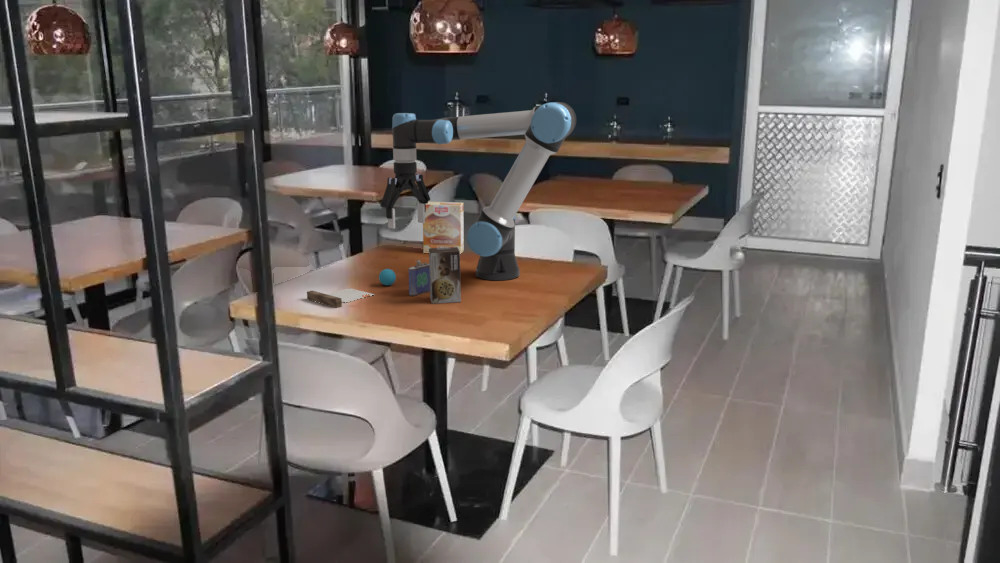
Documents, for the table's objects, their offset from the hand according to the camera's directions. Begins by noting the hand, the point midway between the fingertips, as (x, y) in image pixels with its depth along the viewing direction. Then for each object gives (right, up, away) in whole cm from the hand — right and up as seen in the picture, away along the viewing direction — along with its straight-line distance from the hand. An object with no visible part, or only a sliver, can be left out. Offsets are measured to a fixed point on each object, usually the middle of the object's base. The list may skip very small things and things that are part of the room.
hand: (406, 225), depth 271 cm
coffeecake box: (+9, -7, +47) cm, 48 cm away
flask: (+6, -23, -12) cm, 26 cm away
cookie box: (+14, -25, -20) cm, 35 cm away
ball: (-6, -17, -4) cm, 19 cm away
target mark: (-17, -23, -16) cm, 33 cm away
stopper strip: (-22, -25, -24) cm, 41 cm away
